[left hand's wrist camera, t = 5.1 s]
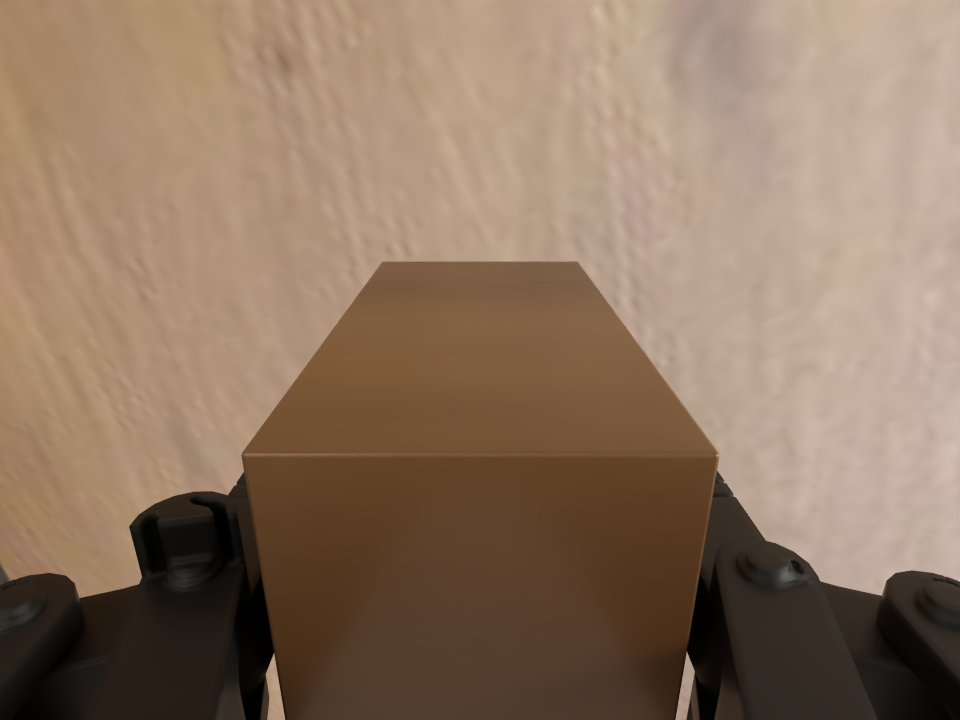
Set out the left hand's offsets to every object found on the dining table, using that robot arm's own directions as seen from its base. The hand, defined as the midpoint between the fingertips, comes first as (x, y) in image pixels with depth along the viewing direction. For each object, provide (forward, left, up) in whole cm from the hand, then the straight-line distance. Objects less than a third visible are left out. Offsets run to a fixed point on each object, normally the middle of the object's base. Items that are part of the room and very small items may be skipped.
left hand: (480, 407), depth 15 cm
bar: (+9, 0, -1) cm, 9 cm away
